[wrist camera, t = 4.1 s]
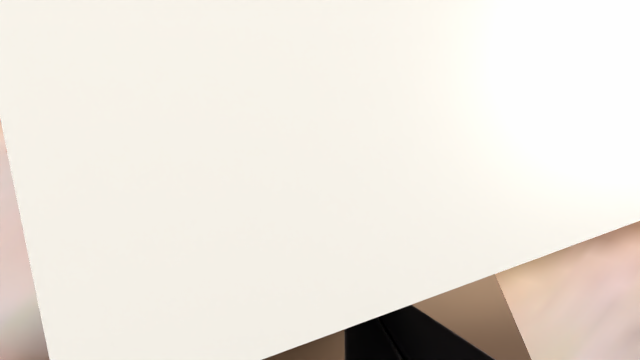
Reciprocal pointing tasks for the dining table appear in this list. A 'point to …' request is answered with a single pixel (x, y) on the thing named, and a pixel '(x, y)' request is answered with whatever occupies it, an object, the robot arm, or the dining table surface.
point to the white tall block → (303, 159)
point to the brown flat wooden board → (446, 324)
